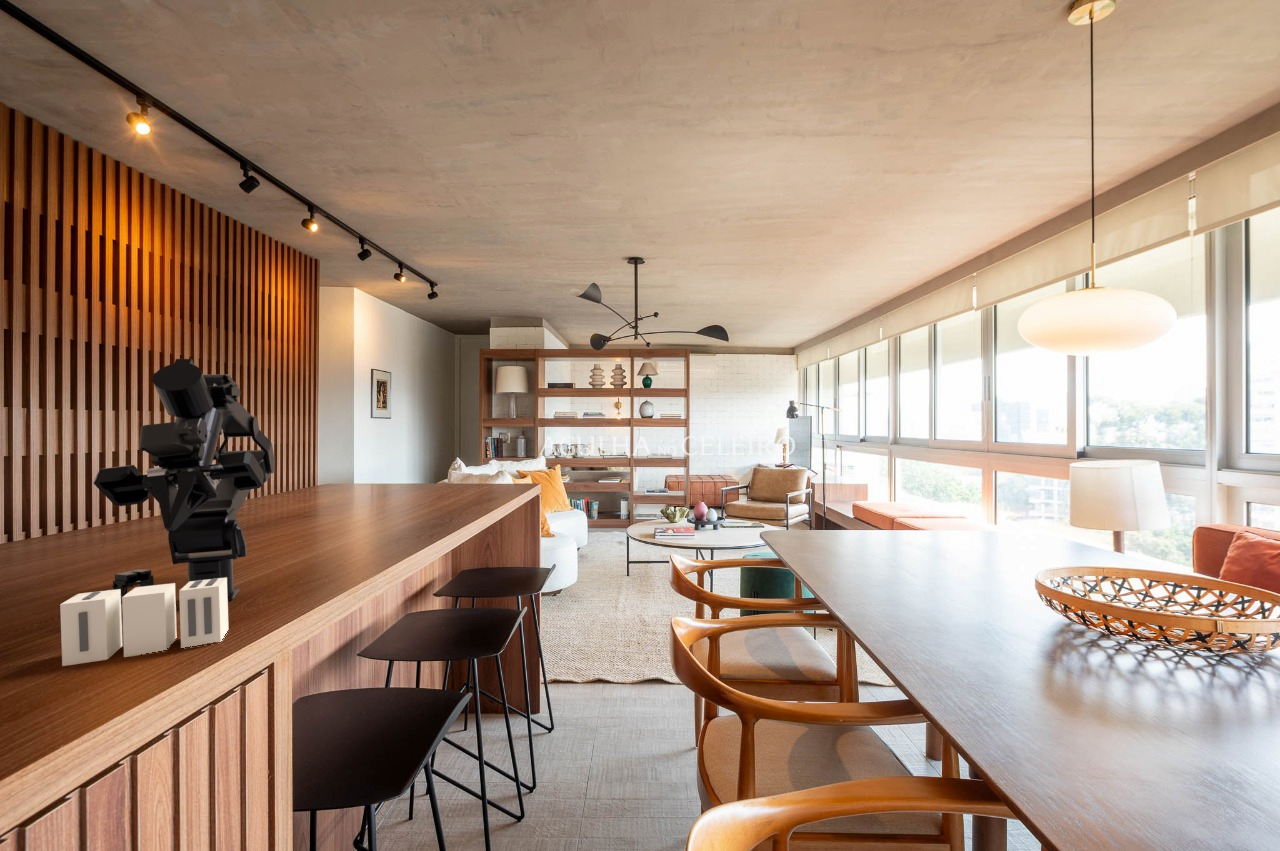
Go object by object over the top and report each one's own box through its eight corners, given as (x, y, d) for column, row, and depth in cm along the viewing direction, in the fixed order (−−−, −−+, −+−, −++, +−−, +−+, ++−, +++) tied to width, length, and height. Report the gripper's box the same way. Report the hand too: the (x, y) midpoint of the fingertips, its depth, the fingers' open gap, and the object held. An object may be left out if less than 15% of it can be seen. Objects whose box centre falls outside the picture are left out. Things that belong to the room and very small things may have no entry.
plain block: (137, 643, 77) (135, 587, 77) (176, 638, 78) (175, 583, 78) (123, 657, 72) (122, 597, 72) (166, 651, 74) (164, 592, 74)
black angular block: (103, 613, 92) (102, 582, 92) (72, 610, 95) (71, 579, 95) (189, 592, 104) (188, 564, 104) (159, 589, 106) (158, 562, 106)
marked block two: (191, 636, 79) (189, 580, 79) (228, 631, 81) (226, 576, 81) (180, 649, 74) (178, 589, 74) (220, 643, 76) (218, 585, 76)
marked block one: (80, 651, 74) (78, 592, 74) (122, 645, 76) (120, 587, 76) (61, 667, 70) (59, 603, 70) (106, 660, 71) (104, 598, 71)
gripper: (88, 409, 83) (47, 505, 73) (243, 394, 87) (223, 483, 78) (132, 460, 92) (100, 552, 82) (271, 444, 96) (256, 530, 86)
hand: (169, 529), depth 82 cm, fingers closed
